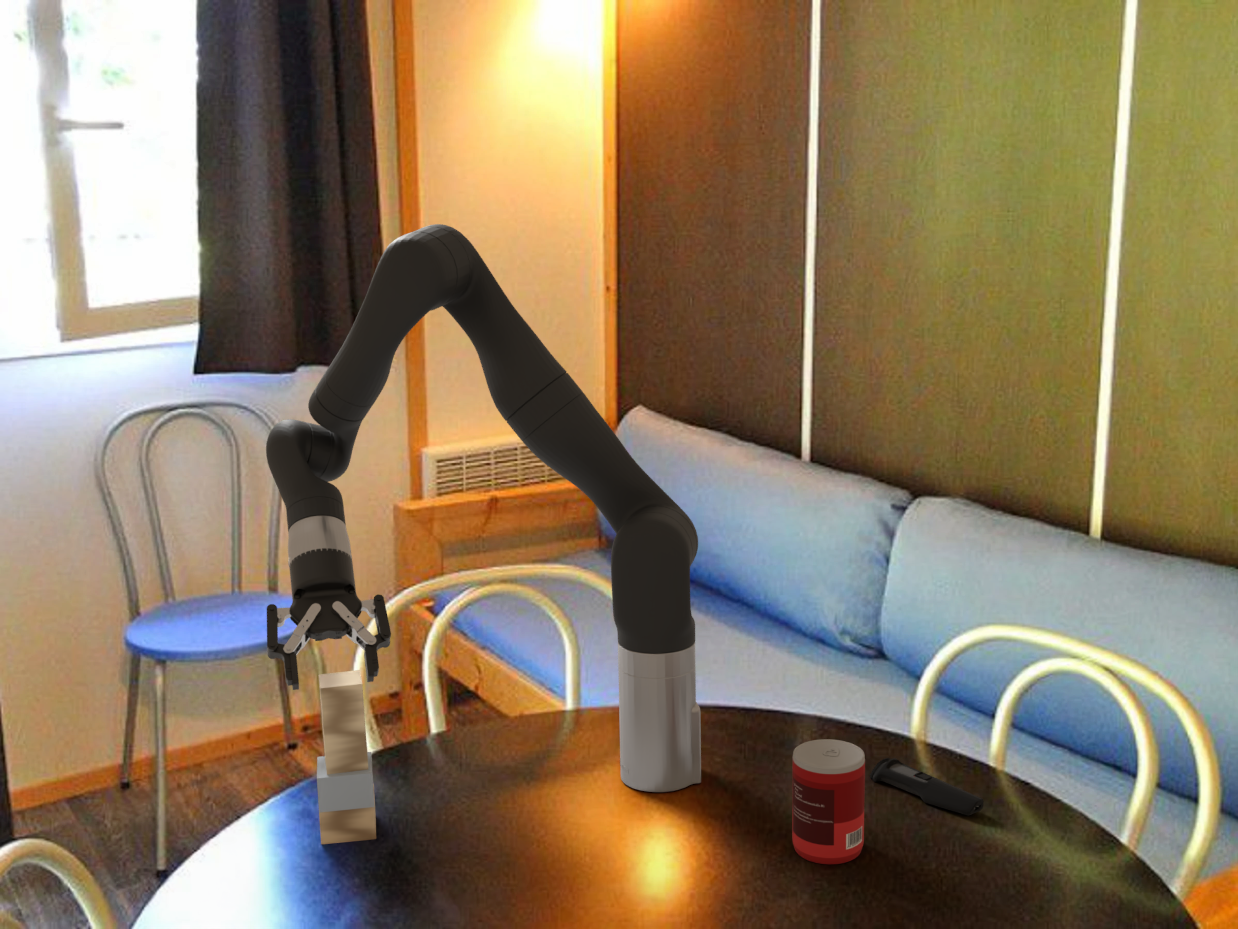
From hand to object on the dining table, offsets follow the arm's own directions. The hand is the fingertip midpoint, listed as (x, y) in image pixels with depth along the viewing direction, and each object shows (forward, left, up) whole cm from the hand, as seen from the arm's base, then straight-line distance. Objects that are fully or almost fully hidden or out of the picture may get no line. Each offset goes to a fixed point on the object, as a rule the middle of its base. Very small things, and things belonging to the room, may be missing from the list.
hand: (333, 683), depth 164 cm
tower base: (-1, +8, -15) cm, 17 cm away
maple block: (-1, +8, -7) cm, 10 cm away
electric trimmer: (-67, +13, -15) cm, 70 cm away
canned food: (-52, +24, -15) cm, 59 cm away
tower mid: (-1, +8, -11) cm, 13 cm away
